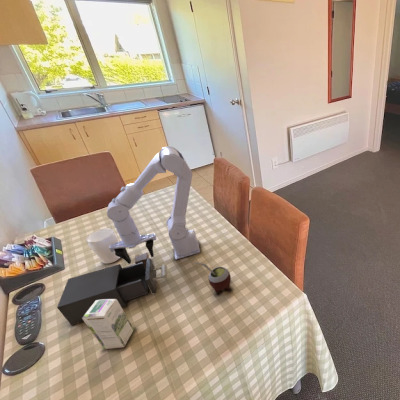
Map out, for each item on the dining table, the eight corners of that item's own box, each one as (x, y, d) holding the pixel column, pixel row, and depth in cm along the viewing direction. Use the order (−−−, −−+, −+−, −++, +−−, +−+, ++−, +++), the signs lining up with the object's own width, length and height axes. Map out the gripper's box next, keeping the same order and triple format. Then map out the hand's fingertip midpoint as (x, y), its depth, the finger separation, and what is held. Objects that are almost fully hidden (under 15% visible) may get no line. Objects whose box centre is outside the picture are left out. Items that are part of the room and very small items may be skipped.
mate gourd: (236, 283, 96) (228, 252, 89) (223, 300, 90) (213, 268, 82) (219, 278, 98) (210, 247, 91) (205, 294, 92) (194, 263, 84)
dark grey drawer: (168, 267, 103) (163, 254, 99) (169, 288, 94) (163, 274, 90) (114, 284, 96) (106, 271, 92) (109, 308, 87) (100, 294, 83)
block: (150, 260, 107) (147, 252, 105) (150, 266, 104) (146, 258, 102) (139, 263, 106) (135, 256, 104) (138, 270, 103) (134, 262, 101)
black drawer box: (129, 280, 98) (119, 263, 94) (125, 306, 89) (115, 288, 84) (80, 296, 93) (68, 278, 88) (71, 325, 83) (56, 307, 78)
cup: (112, 267, 104) (98, 243, 98) (93, 264, 106) (78, 240, 100) (130, 252, 112) (119, 229, 106) (112, 249, 114) (100, 226, 107)
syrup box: (115, 331, 81) (94, 299, 74) (135, 329, 81) (116, 297, 74) (104, 349, 76) (79, 317, 69) (125, 347, 76) (103, 315, 69)
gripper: (102, 243, 91) (118, 272, 98) (150, 231, 96) (162, 259, 103) (105, 232, 96) (120, 260, 103) (150, 221, 102) (162, 248, 109)
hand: (141, 258), depth 103 cm, fingers open, 7 cm apart
